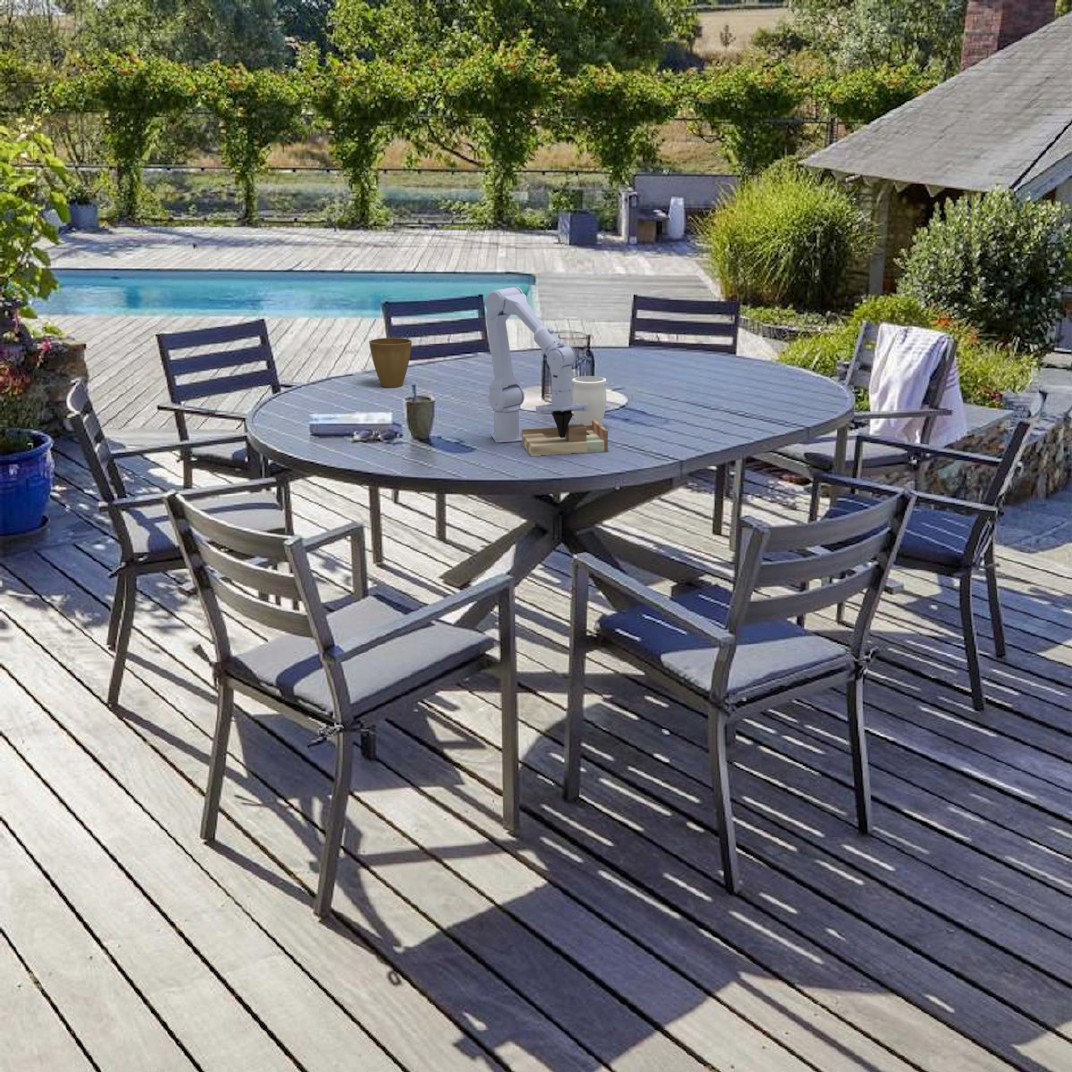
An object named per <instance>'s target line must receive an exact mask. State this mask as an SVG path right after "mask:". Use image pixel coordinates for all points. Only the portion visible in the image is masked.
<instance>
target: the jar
mask: <svg viewBox="0 0 1072 1072" xmlns="http://www.w3.org/2000/svg"><path fill="white" fill-rule="evenodd" d="M606 384H607V378H605V377H602V376H597V375H596V376H595V375H584V376H577V377H572V385H573V386H572V403H586V404H587V405H588V411H573V415H574V418H575V420H576V424H581V423H582V424H583V425H592V420H596V421H597V422H599V423H600V424H601V425H602V426H603V423H602V421H603V419H604V417H605V412H606V406H607V389H606V386H605V385H606ZM603 427H604V426H603Z"/></svg>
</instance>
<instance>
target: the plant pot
mask: <svg viewBox="0 0 1072 1072" xmlns="http://www.w3.org/2000/svg"><path fill="white" fill-rule="evenodd" d="M368 343H369V349H370V353H371V358H372V362H373V366H374V369H375V370H374V371H375V373H376V376H377V378H378V381H379V383H380V386H381V387H383V386H385V387H384V388H389V387H393V388H400V387H403V384H404V382H405V379H406V375H407V371H408V368H409V363H410V358H411V350H412V343H413V340H412V339H410V338H404V337H382V338H380V337H379V338H375V339H370V340H369V341H368ZM399 386H400V387H399Z"/></svg>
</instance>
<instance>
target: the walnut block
mask: <svg viewBox="0 0 1072 1072" xmlns="http://www.w3.org/2000/svg"><path fill="white" fill-rule="evenodd" d="M565 438H566V439H567V440H568V442H582V441H586V427H585V426H584V425H583V424H582V423H581V424H577V423H569V424H568V427H567V430H566V434H565Z"/></svg>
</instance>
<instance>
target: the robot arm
mask: <svg viewBox="0 0 1072 1072" xmlns="http://www.w3.org/2000/svg"><path fill="white" fill-rule="evenodd" d="M484 300H485V307H486V313H485V319H486V325H487V326H486V327H487V335H488V341H489V347H490V348H489V349H490V353H491V361H492V368H493V373H494V374H493V376H494V378H493V380H492V381H491V383H490V384H489V386H488V387H489V388H488V389H489V393H488V403H489V405H490V408H491V409H492V411H494V413H493V433H491V434H490V436H491V437H492V438H493V441H495V443H506V442H507V443H510V442H511V443H512V442H522V436H521V435H520V409H521V405H523V403H524V402H525V392H524V390H523V388H522V385H521V380H520V379H518V378H517V376H515V375H514V372H513V371H514V370H513V364H512V363H513V361H512V357H511V350H510V344H509V343H510V342H509V335H508V330H507V321H508V319H509V318H510V316H511V315H515V316H517V317H518V318H519V319H520V320H521V321H522V323H523V324H524V325H525V326H526V327H527V328H529V330H530V331H531V332H532V333H533V341H534V342H535V343H536V344H537V346H538V347H539V348H540V349H541V351H542V352H543V353H544V354H545V355H546V363H547V365H548V367H549V372H550V374H551V403H549V404H542V405H541V404H540V405H535V413H536V414H537V415H541V414H551V416H552V418H553V420H554V422H555V425H556V426H555V427H557V429H558V434H559V437H560V438H565V434H566V430H567V427H568V424H570V422H571V420H572V418H573V415H574V413H572V412H574V411H588V405H587V404H586V403H572V393H573V382H572V379H573V365H575V363H576V361H577V353H576V351H575V349H574V347H573V346H571V345H568V344H566V343H564V342H563V341H562V339H560V338H559V336H558V335H557V334H556V333H555V330H554V329H553V327H550V326H548V325H543V323H542V321H541V320H540V318H539V316H538V315H537V314H536V312H535V311H534V310H533V309H532V307H531V306H530V304H529V303H528V301H527V295H526V294H525V293H524V292H523V290H522V289H521V288H520V287H518V286H512V287H506V288H501V289H492V290H491V291H489V293H488V294H487V295H486V297H485V299H484Z"/></svg>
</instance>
